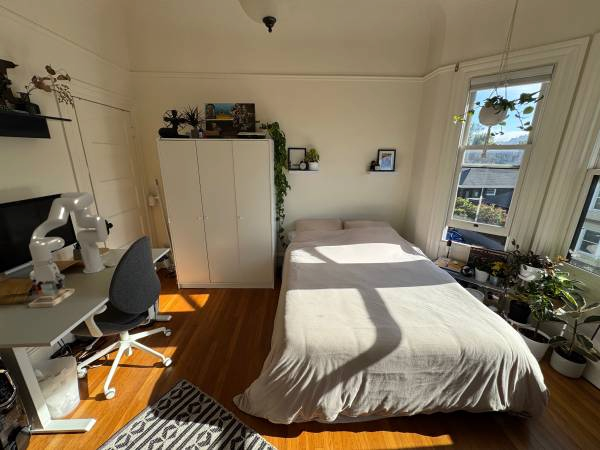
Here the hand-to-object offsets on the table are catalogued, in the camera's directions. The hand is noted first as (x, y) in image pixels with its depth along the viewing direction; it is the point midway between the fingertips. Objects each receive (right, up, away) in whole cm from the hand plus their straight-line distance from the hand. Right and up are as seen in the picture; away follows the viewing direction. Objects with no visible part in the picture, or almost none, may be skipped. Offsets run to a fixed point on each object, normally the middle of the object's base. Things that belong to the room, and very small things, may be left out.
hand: (50, 289), depth 142 cm
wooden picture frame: (0, -7, +2) cm, 7 cm away
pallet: (0, -4, +1) cm, 4 cm away
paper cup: (-14, -4, +10) cm, 18 cm away
